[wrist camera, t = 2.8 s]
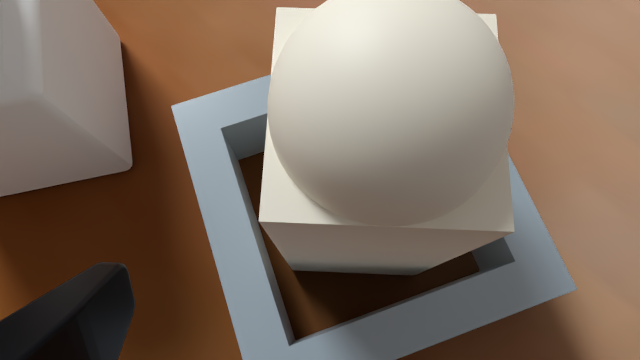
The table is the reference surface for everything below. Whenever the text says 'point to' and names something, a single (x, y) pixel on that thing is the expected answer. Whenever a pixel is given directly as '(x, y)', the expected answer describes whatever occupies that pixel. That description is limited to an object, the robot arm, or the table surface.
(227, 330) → the table surface
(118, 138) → the medicine bottle
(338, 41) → the cream egg block
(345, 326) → the blue square ring
